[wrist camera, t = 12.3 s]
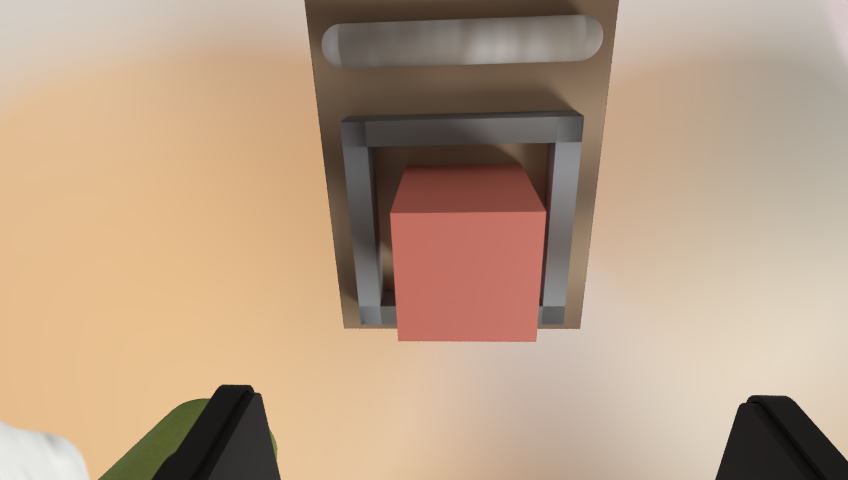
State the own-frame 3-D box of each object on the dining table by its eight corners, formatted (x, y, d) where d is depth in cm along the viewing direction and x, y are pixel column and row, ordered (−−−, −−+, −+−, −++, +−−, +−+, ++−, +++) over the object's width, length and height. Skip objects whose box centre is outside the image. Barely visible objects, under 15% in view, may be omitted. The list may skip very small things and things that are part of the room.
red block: (405, 165, 21) (390, 213, 15) (520, 163, 21) (546, 211, 15) (410, 266, 23) (398, 341, 17) (515, 266, 23) (536, 341, 17)
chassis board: (308, -21, 19) (288, -29, 17) (614, -35, 18) (639, -44, 16) (348, 317, 25) (337, 347, 23) (575, 317, 25) (588, 348, 22)
